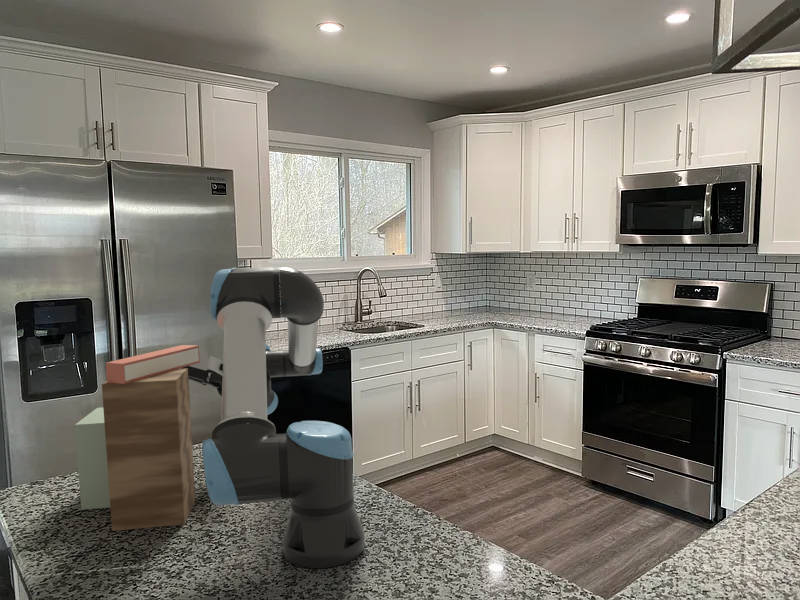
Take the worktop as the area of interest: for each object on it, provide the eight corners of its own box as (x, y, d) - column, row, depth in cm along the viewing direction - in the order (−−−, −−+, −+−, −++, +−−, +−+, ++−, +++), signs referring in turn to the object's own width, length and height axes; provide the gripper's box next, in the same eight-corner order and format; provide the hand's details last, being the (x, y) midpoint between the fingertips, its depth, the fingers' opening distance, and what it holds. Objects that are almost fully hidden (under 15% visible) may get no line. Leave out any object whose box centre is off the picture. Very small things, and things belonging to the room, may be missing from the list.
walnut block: (184, 524, 122) (175, 380, 120) (112, 530, 120) (101, 384, 118) (195, 500, 134) (187, 368, 132) (129, 505, 132) (120, 371, 129)
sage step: (139, 504, 132) (133, 420, 131) (81, 509, 131) (74, 424, 129) (154, 480, 146) (150, 404, 144) (102, 484, 144) (97, 407, 143)
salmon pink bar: (183, 361, 139) (182, 344, 139) (199, 362, 138) (198, 345, 137) (106, 382, 119) (105, 362, 119) (124, 383, 117) (123, 363, 117)
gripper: (274, 405, 149) (225, 378, 131) (194, 398, 158) (138, 372, 140) (282, 376, 152) (235, 346, 134) (202, 371, 161) (148, 343, 143)
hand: (185, 360), depth 137 cm, fingers open, 13 cm apart
